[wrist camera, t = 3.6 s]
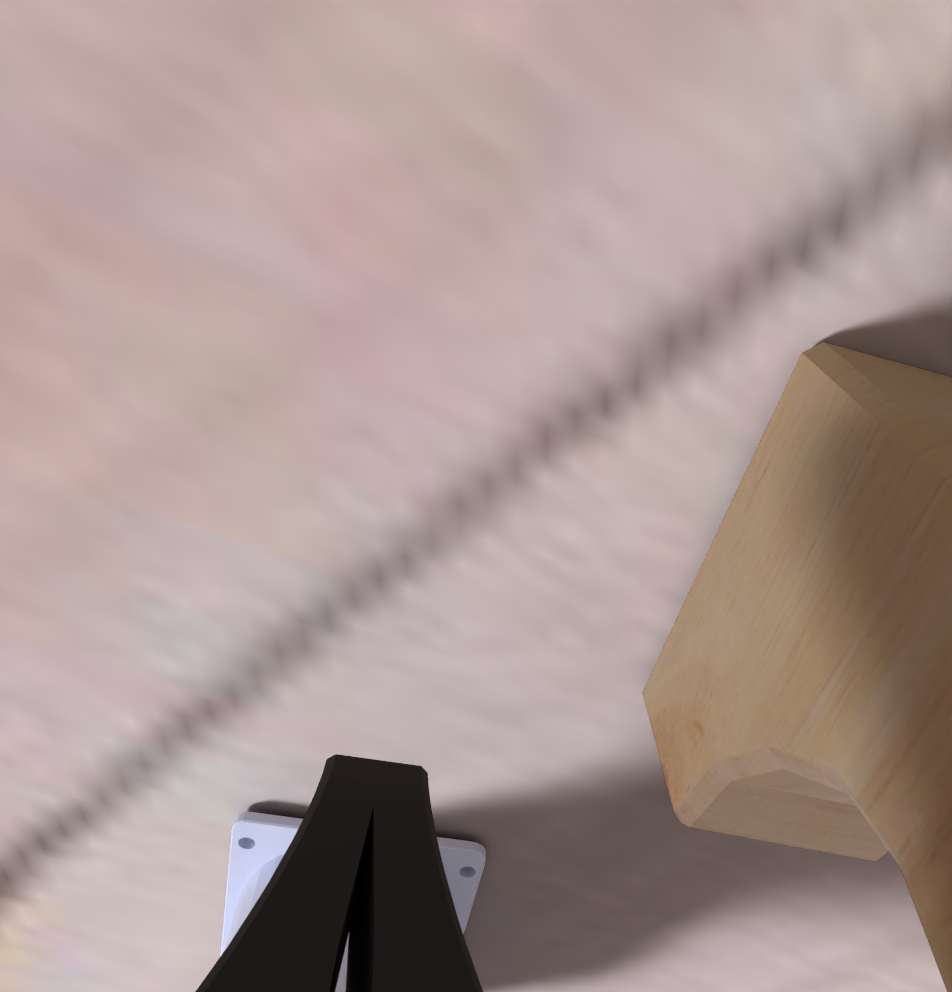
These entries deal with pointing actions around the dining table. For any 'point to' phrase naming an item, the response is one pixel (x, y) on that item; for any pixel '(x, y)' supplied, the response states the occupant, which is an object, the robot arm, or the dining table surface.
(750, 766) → the decorative block
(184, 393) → the dining table surface
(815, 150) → the dining table surface
